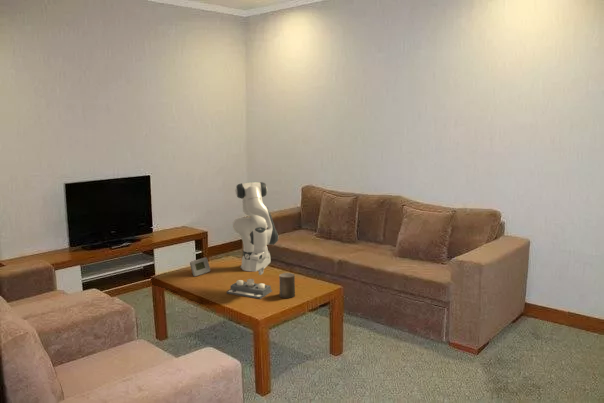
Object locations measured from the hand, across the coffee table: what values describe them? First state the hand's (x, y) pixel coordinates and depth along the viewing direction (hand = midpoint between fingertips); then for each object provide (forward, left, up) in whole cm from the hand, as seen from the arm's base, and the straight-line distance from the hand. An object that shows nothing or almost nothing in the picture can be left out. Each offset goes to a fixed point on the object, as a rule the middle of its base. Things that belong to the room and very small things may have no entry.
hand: (261, 274), depth 311 cm
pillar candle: (-3, +17, -13) cm, 22 cm away
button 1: (0, -16, -11) cm, 19 cm away
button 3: (0, 0, -11) cm, 11 cm away
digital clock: (-17, -60, -13) cm, 64 cm away
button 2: (0, -8, -9) cm, 12 cm away
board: (+2, -8, -13) cm, 15 cm away
